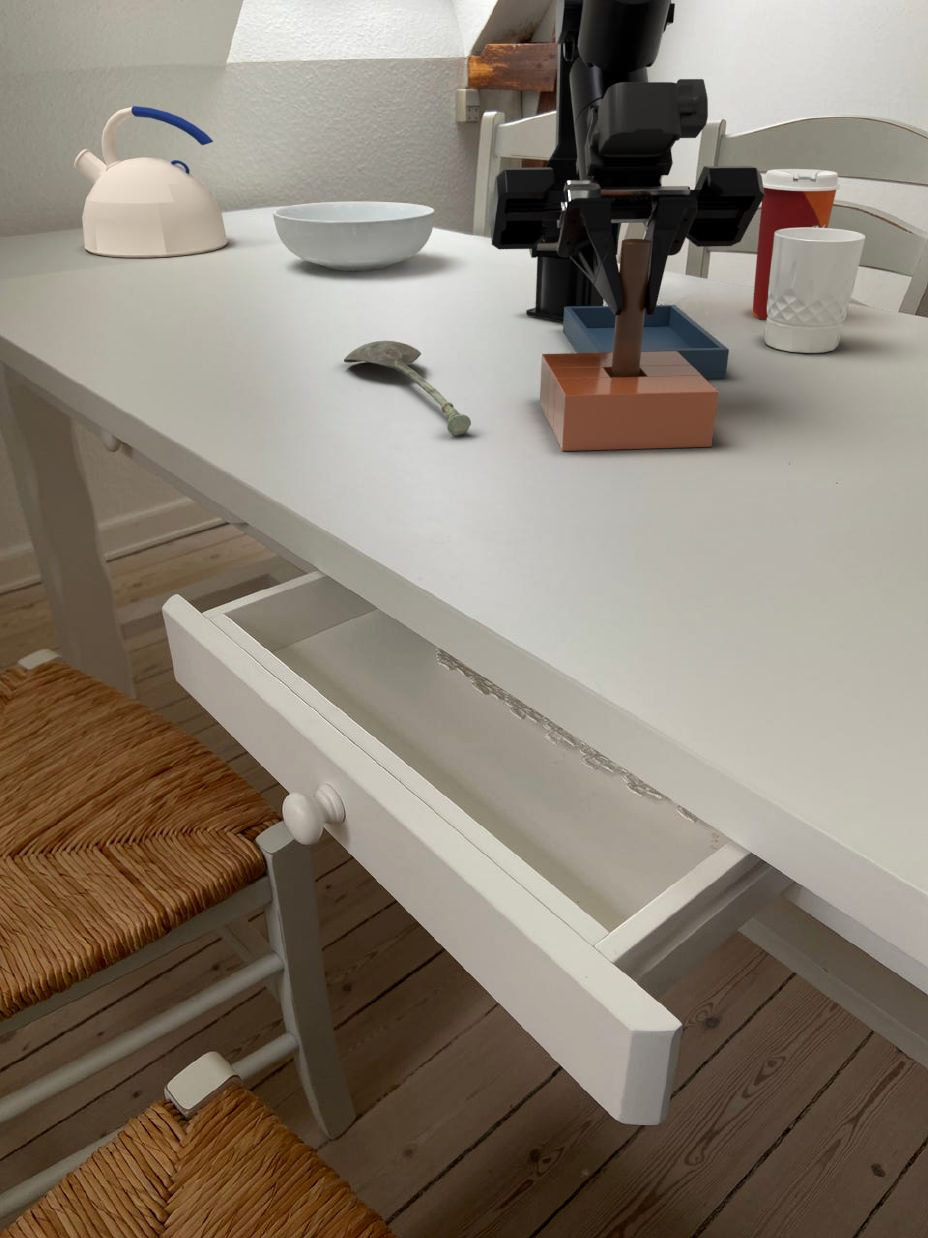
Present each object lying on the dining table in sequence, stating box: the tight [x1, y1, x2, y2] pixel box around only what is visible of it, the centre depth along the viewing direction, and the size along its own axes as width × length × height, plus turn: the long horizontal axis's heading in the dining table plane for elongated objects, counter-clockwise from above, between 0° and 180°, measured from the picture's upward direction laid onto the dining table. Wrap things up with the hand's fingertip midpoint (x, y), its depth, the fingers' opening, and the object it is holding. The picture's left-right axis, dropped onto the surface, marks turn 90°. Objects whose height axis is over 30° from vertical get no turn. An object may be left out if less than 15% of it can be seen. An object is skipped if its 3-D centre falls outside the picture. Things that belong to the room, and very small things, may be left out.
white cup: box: [763, 227, 866, 354], centre depth 90 cm, size 8×8×10 cm
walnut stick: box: [611, 238, 651, 378], centre depth 69 cm, size 2×2×13 cm
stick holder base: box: [539, 351, 719, 452], centre depth 72 cm, size 11×11×4 cm
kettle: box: [73, 105, 229, 259], centre depth 137 cm, size 20×21×18 cm
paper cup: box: [752, 168, 841, 321], centre depth 100 cm, size 8×8×14 cm
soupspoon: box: [343, 340, 472, 436], centre depth 78 cm, size 22×3×7 cm
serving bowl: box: [272, 201, 436, 272], centre depth 127 cm, size 21×21×7 cm
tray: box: [562, 304, 730, 380], centre depth 89 cm, size 17×11×2 cm, turn 5°
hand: (635, 311), depth 67 cm, fingers closed on walnut stick, 2 cm apart
